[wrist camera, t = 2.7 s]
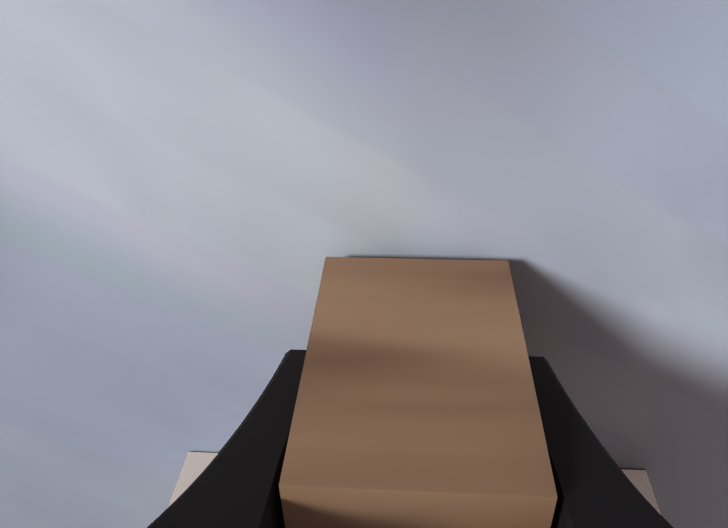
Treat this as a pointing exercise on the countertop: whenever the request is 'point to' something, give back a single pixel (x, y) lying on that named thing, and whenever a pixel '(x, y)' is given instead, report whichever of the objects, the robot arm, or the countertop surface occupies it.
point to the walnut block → (416, 402)
